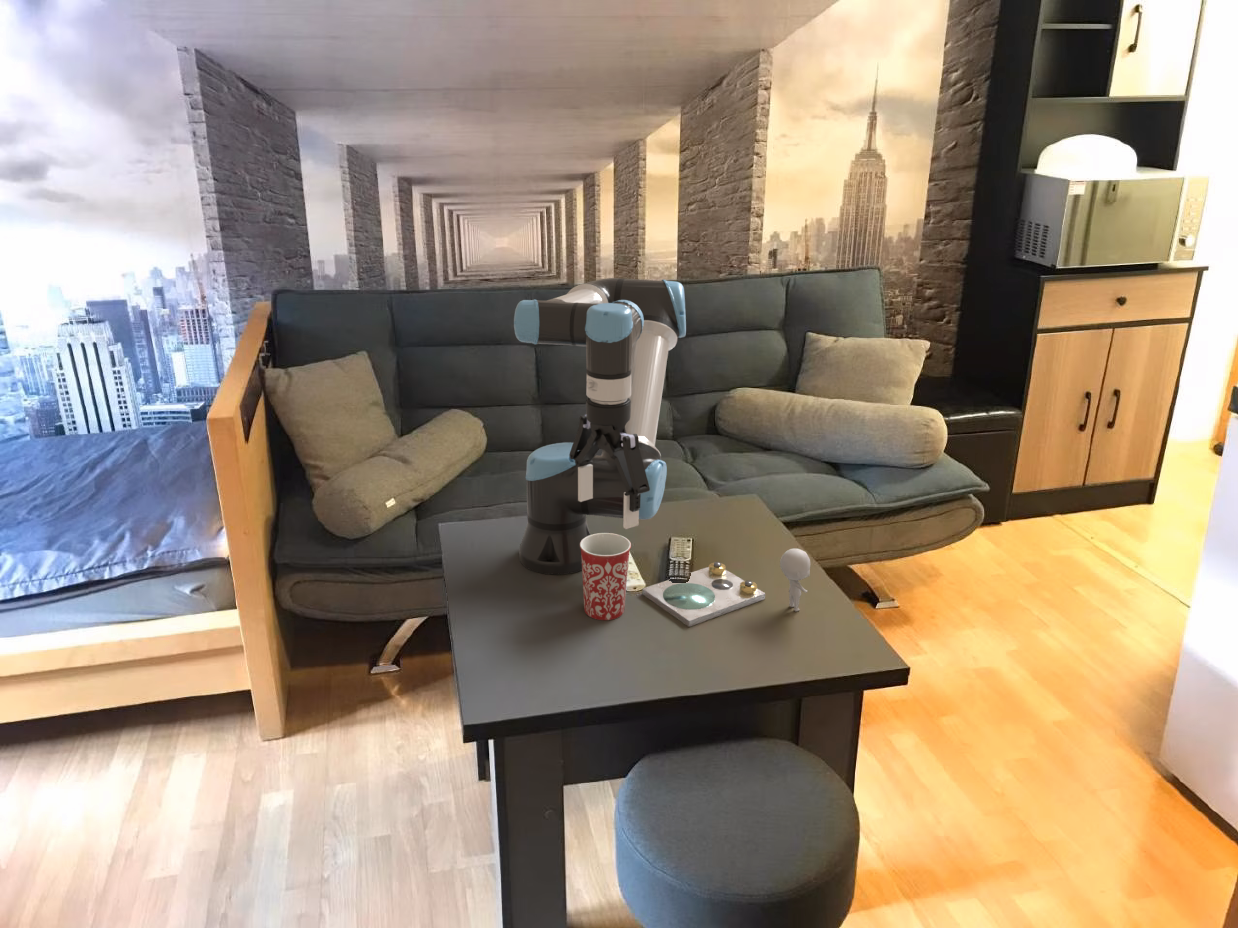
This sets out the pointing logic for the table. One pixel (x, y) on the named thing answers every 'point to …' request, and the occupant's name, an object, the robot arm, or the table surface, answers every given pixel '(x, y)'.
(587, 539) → the mug
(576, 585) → the table surface
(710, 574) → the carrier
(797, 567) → the figurine
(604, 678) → the table surface
